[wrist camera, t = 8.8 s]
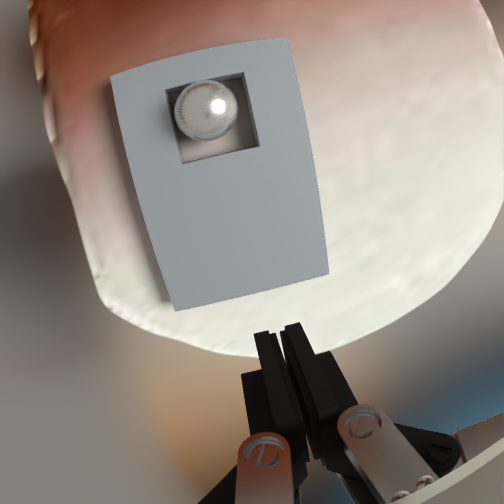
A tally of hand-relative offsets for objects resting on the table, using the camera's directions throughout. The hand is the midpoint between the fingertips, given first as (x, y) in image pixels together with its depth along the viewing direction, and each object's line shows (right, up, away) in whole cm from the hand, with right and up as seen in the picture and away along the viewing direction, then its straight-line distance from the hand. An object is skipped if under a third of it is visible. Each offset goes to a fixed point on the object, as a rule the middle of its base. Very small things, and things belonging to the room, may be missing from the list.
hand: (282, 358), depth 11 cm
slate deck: (-4, +11, +16) cm, 19 cm away
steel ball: (-5, +15, +11) cm, 19 cm away
